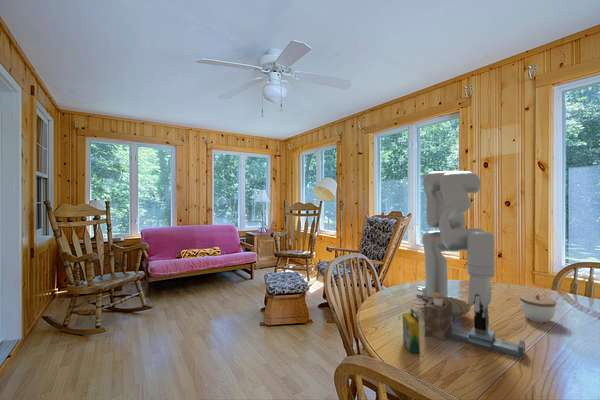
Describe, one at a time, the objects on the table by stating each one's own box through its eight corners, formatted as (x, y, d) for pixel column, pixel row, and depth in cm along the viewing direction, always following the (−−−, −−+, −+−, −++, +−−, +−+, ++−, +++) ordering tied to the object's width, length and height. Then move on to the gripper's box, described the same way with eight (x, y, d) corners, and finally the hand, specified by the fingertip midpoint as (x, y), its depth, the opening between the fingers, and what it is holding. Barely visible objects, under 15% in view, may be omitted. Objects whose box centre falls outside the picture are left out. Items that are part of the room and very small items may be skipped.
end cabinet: (424, 334, 102) (424, 306, 102) (434, 325, 109) (434, 298, 109) (443, 340, 98) (442, 310, 98) (452, 330, 105) (451, 302, 105)
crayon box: (402, 342, 96) (402, 307, 96) (411, 342, 96) (411, 307, 96) (410, 354, 89) (409, 316, 89) (420, 354, 89) (419, 316, 89)
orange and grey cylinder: (432, 314, 103) (431, 294, 103) (435, 311, 106) (434, 292, 106) (441, 316, 101) (441, 296, 101) (444, 313, 103) (444, 293, 103)
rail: (445, 337, 99) (445, 327, 99) (449, 332, 103) (449, 322, 103) (523, 359, 85) (523, 348, 85) (525, 352, 89) (525, 341, 89)
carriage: (468, 341, 94) (467, 305, 94) (473, 333, 99) (473, 299, 99) (490, 347, 90) (489, 310, 90) (494, 339, 95) (494, 303, 95)
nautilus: (406, 314, 121) (421, 306, 132) (463, 326, 106) (475, 316, 116) (405, 295, 122) (420, 288, 132) (461, 304, 106) (474, 296, 117)
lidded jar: (563, 326, 107) (562, 300, 107) (529, 324, 109) (529, 298, 109) (545, 314, 117) (544, 291, 117) (514, 313, 119) (514, 290, 119)
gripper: (473, 264, 103) (473, 316, 103) (460, 273, 91) (461, 332, 91) (498, 267, 98) (499, 322, 98) (489, 277, 86) (490, 340, 86)
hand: (481, 326), depth 95 cm, fingers closed on carriage, 3 cm apart
